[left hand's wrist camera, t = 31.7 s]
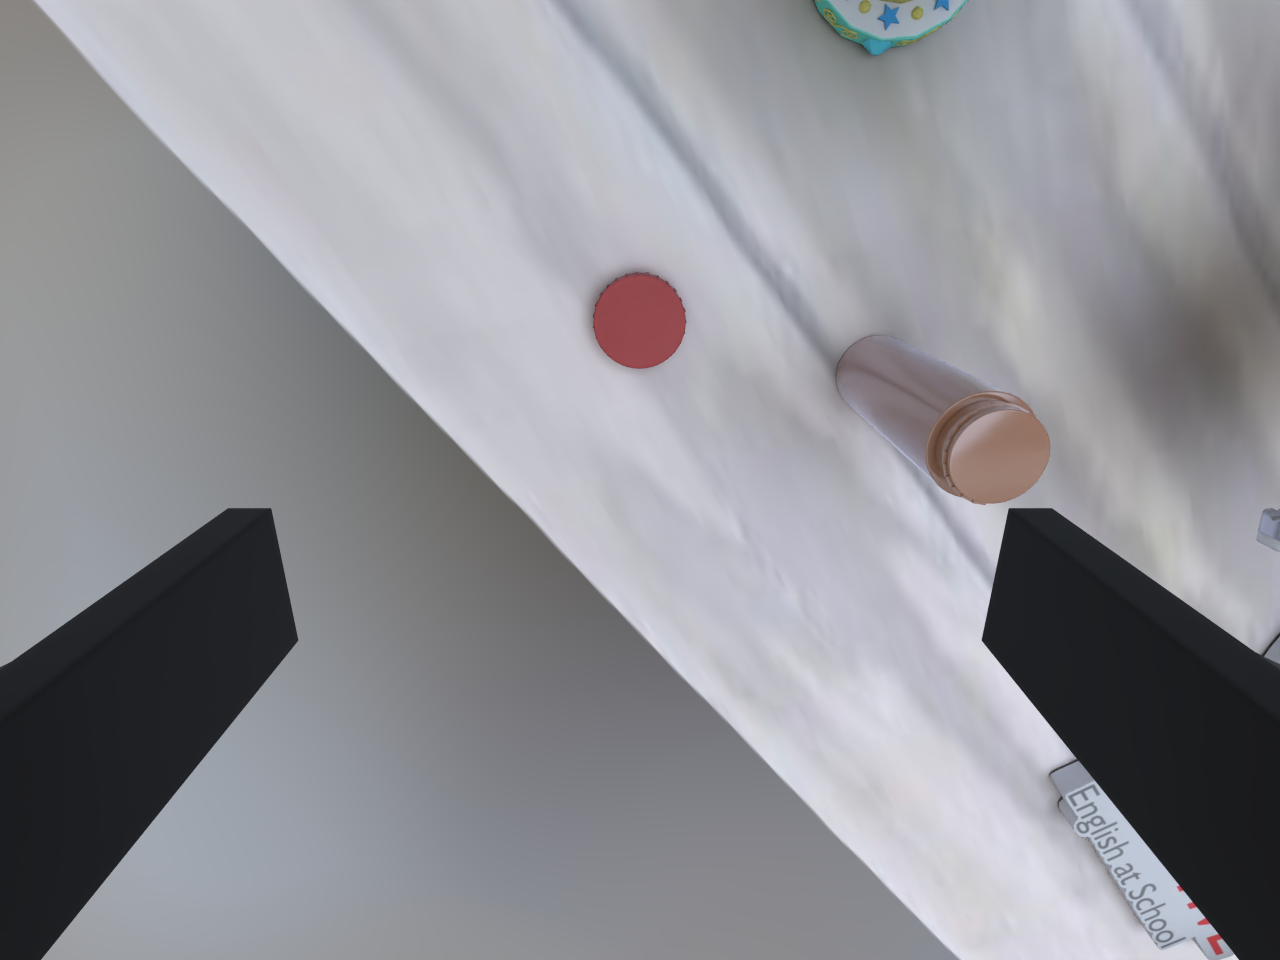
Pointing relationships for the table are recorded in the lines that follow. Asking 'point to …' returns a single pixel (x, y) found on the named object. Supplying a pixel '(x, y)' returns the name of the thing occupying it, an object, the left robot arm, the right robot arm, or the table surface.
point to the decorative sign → (1137, 861)
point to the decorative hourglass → (887, 20)
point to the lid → (639, 320)
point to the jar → (945, 420)
